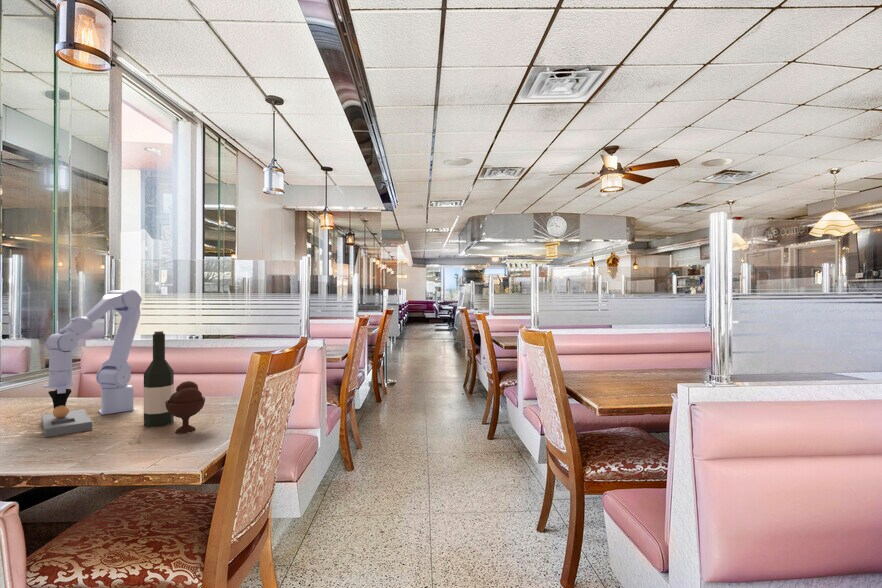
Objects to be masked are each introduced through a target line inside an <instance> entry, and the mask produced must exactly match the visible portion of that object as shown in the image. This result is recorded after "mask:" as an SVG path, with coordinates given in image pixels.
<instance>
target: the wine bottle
mask: <svg viewBox="0 0 882 588" xmlns="http://www.w3.org/2000/svg"><path fill="white" fill-rule="evenodd" d="M174 372H175V370H174V369H173V368H172V367H171V366H170V364H169V363H168V361H167V360H166V333H164V331H163V330H161V331H160V330H159V331H158V330H156V331H154V333H153V334H152V361H151V362H150V364H149V365H148V367H147V368H146V370H145V371H144V373H143V427H146V428H156V427H157V428H161V427H164V426H168V425H172V424H173V423H174V422H175V416H173V415H172V414H170V413H169V412H168V410H167V409H166V405H165V402H166V401H168V400H169V399H170V397H171V395H172V394H174V393H175V392H174V391H175V389H174V387H175V385H174V384H175V383H174V382H175V377H174V374H175V373H174Z"/></svg>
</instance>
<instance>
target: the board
mask: <svg viewBox="0 0 882 588" xmlns="http://www.w3.org/2000/svg"><path fill="white" fill-rule="evenodd" d="M41 426H42V429H43V434H44V438H50V437H56V436H61V435H62V436H63V435H68V434H74V433H80V432H87V431H92V430H93V420H92V419H91V417H90V416H89V414H88V412H87V411H86V410H85V408H82V409H75V410H74V409H73V410H69V413H68V415H67V416H65V417H63V418H56V417H54V415H53V412H52V413H47V414H46V413H45V414H41Z"/></svg>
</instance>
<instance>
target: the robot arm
mask: <svg viewBox="0 0 882 588" xmlns="http://www.w3.org/2000/svg"><path fill="white" fill-rule="evenodd" d="M142 300H143V298H142V297H141V296H140V294H139V292H138V291H137V290H135V289H128V290H127V289H126V290H125V289H123V290H121V289H119V290H116V289H112V290H109V291H107V293H106V294H104V295H102V298H101V300H100V301H99V302H98V303H96V304H95V305H94V306H93V307H92V308H91V309H90V310H89V311H88V312H86V314H84V315H83V316H76V317H73V318H71V319H70V322H69V323H68V324H67V325H65V327H62V328H60V329H59V330H58V333H53V334H51V335H49V336H48V337H47V340H46V342H44V347H45V348H46V350H48V355H49V357H48V359H49V360H48V384H44V385H43V389H52V390H49V391H47V392H48V395H49V396H50V397H51V401H52V405H53V410H54V409H55V408H56V407H57V406H61V405H63V406H66V407H67V401H68V399H69V397H70V395H71V393H72V388H71V387H72V386H73V383H72V382H73V381H72V380H73V350H74V349H76V348H77V346H78V344H79V341H80V340H81V339H82V338H83V337H84V336H85V335H87V333H89V332H90V331H91V330H92V329H93V327H94V325H93V324H94V323H95V322H96V321H97V320H99V319H100V318H102V317H103V316H104V315H105V314H106V313H109V311H111V310H114V311H116V312H117V314H119V315H120V320H119V321H120V322H119V324H118V328H117V332H116V334H115V338H114V341H113V344H112V348H111V351H110V355H109V358H108V359H107V360H106V361H104V362H103V363H102V364H101V368H100V369H98V371H97V372H96V375H95V381H96V382H97V384H99V388H101V389H100V390H101V391H100V393H101V395H100V396H101V397H100V400H101V401H100V409H98V412H99V413H100V415H101V416H104V415H109V414H116V413H117V414H118V413H123V412H124V413H125V412H129V411H130V412H131V411H134V410H135V409H134V387H133V384H128V383H130V381H131V379H132V375H131V374H132V373H131V369H132V365H131V364H130V363H129V362H128V359H129V355H130V352H131V349H132V346H133V341H134V340H135V339H134V338H135V334H136V331H137V328H138V324H139V321H140V318H141V307H140V306H141V304H142Z"/></svg>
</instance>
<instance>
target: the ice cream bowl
mask: <svg viewBox="0 0 882 588" xmlns="http://www.w3.org/2000/svg"><path fill="white" fill-rule="evenodd" d="M198 386H199V385H198V384H197V382H194V381H191V380H188V381H187V380H186V381H183V382H181V383H180V384H179V385H177V387H176V388H175V392H174V394H172V395H171V397H170V399H169V400H168V401H166V402H165V405H166V409H167V410H168V412H169V413H170V414H172V415H173V416H174V418H177V419H181V421H182V424H181V426H179V427H178V428H177V429H176V430H175V434H178V433H183V434H188V432H190V433H192V432H193V433H194V432H195V431H196V427H195V426H192V425H190V424H189V420H190V418H191V417H193V416H195V415H197V414H198V413H199V412H200V411H201V410H202V409H203V408H204V405H205V401H206V397H205V396H203V393H202V392H201V391H200V389H199V387H198Z"/></svg>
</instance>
